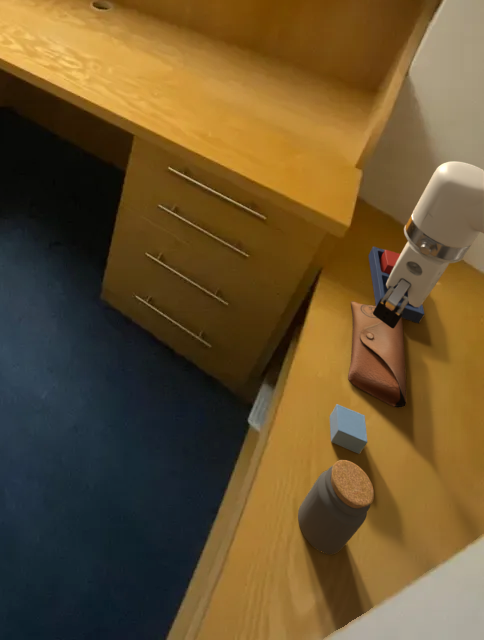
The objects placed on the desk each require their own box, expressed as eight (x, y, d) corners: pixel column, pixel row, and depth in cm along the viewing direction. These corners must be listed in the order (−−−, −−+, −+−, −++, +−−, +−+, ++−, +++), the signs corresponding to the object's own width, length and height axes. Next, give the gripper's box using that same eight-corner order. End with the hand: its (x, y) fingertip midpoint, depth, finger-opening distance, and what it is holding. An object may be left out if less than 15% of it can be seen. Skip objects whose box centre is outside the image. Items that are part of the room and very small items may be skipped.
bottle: (335, 505, 74) (368, 459, 66) (349, 560, 69) (387, 517, 61) (292, 496, 75) (321, 450, 67) (303, 549, 70) (335, 506, 62)
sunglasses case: (348, 297, 101) (377, 287, 97) (377, 322, 100) (408, 313, 96) (346, 383, 88) (380, 376, 83) (380, 412, 87) (416, 407, 82)
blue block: (356, 427, 82) (364, 415, 80) (359, 454, 79) (367, 442, 77) (329, 415, 84) (336, 403, 82) (330, 442, 81) (338, 430, 79)
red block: (400, 268, 107) (407, 255, 105) (403, 284, 103) (410, 271, 101) (378, 261, 108) (385, 249, 106) (381, 277, 105) (387, 264, 103)
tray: (406, 267, 108) (411, 257, 106) (418, 323, 97) (424, 314, 96) (368, 255, 110) (372, 246, 109) (376, 309, 100) (381, 300, 98)
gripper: (444, 285, 69) (398, 354, 78) (486, 223, 78) (441, 291, 87) (384, 247, 74) (348, 316, 83) (430, 193, 83) (393, 260, 92)
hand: (396, 303), depth 85 cm, fingers open, 9 cm apart
